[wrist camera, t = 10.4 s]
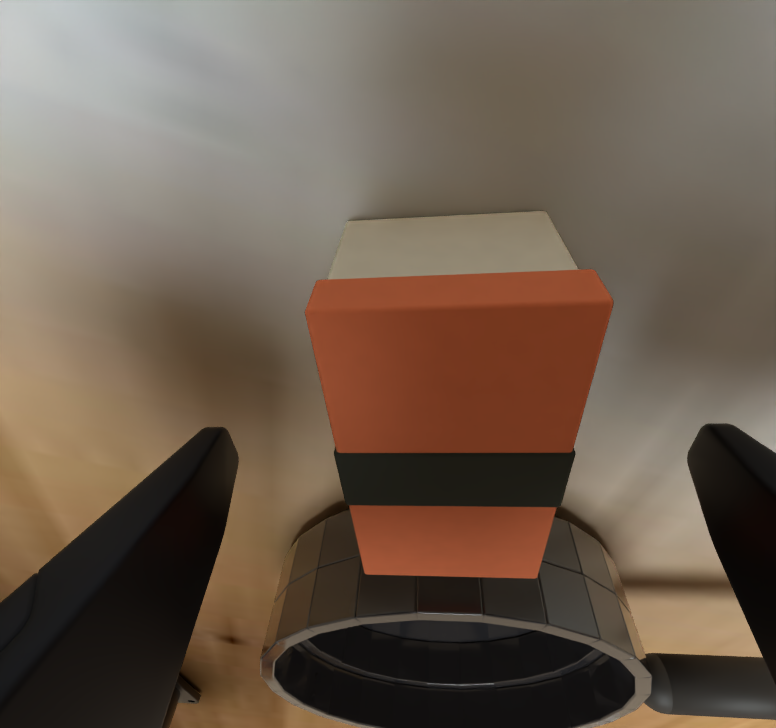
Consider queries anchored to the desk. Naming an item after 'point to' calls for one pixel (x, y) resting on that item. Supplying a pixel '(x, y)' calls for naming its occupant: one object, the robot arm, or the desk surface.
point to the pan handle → (711, 686)
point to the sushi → (455, 386)
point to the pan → (454, 640)
